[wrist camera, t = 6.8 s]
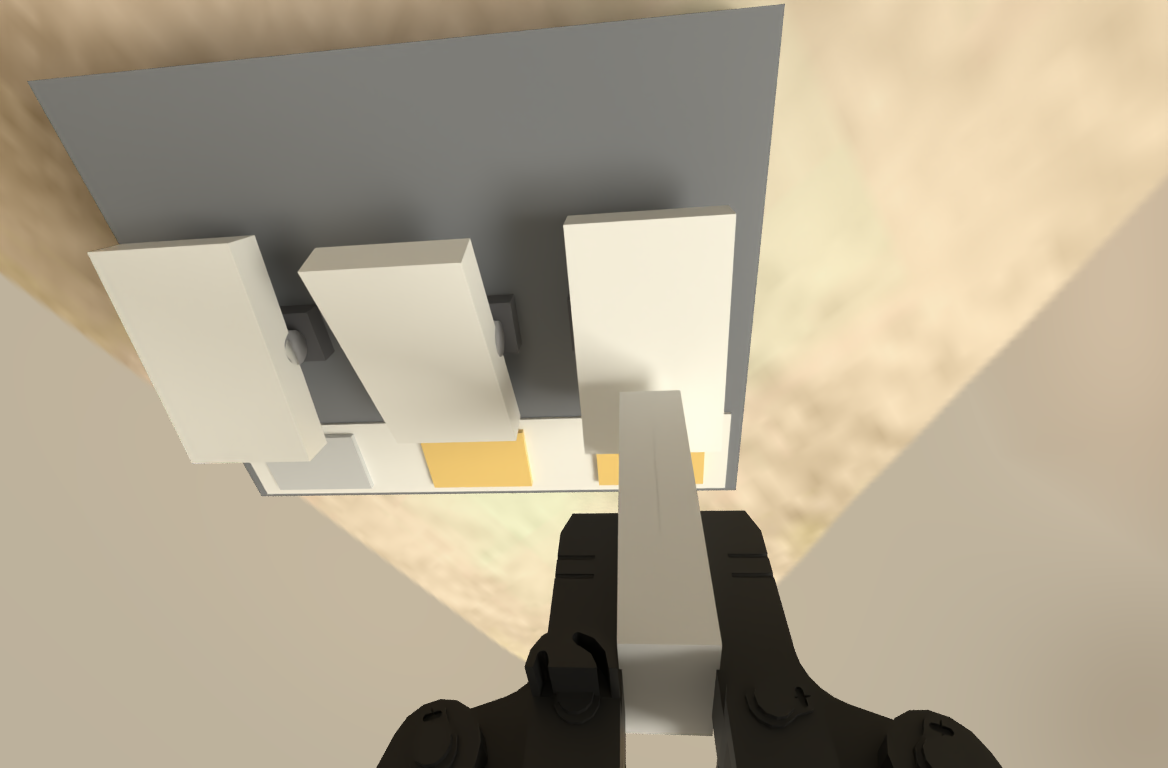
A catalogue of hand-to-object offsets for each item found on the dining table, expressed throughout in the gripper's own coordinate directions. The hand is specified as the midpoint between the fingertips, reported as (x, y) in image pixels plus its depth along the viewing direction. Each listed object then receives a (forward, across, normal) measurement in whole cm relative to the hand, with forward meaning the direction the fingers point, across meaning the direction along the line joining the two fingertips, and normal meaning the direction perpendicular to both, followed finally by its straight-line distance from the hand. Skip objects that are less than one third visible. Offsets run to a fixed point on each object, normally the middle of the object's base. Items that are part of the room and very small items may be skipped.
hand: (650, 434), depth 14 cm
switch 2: (+2, -6, +2) cm, 7 cm away
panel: (+7, -6, +2) cm, 9 cm away
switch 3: (+2, 0, +2) cm, 3 cm away
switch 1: (+2, -12, +2) cm, 12 cm away
